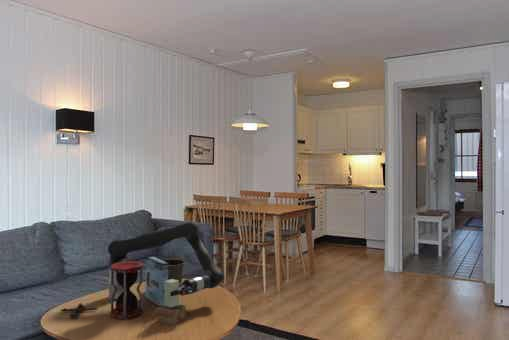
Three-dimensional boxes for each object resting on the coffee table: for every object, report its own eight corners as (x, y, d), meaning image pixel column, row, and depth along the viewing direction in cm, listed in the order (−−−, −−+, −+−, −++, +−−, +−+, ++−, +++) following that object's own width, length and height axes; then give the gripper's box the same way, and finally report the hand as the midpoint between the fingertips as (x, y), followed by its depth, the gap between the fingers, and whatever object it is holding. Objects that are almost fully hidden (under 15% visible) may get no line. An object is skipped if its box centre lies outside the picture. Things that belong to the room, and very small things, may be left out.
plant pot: (171, 293, 244) (171, 266, 244) (152, 289, 253) (152, 262, 252) (190, 287, 257) (190, 261, 257) (171, 283, 266) (171, 258, 266)
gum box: (145, 297, 236) (145, 257, 236) (153, 295, 239) (153, 256, 239) (159, 306, 221) (160, 264, 221) (168, 305, 224) (168, 262, 224)
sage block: (170, 307, 200) (170, 282, 200) (164, 305, 203) (164, 281, 203) (178, 305, 204) (178, 280, 203) (172, 302, 207) (172, 278, 207)
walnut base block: (174, 324, 197) (174, 312, 197) (156, 321, 201) (156, 309, 200) (185, 317, 206) (185, 305, 206) (168, 314, 210) (168, 303, 210)
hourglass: (107, 320, 201) (107, 269, 201) (113, 309, 217) (113, 261, 216) (141, 318, 203) (141, 268, 203) (144, 307, 219) (145, 260, 219)
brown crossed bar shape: (54, 314, 201) (63, 301, 215) (54, 322, 201) (63, 309, 216) (92, 312, 204) (99, 300, 218) (93, 321, 204) (99, 308, 218)
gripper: (183, 275, 219) (157, 282, 205) (202, 280, 210) (177, 288, 197) (183, 289, 219) (157, 297, 206) (202, 295, 210) (176, 303, 197)
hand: (167, 293), depth 201 cm, fingers closed on sage block, 5 cm apart
